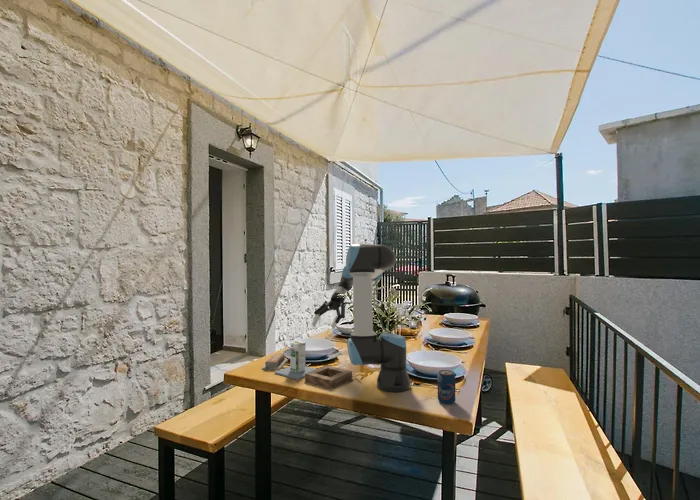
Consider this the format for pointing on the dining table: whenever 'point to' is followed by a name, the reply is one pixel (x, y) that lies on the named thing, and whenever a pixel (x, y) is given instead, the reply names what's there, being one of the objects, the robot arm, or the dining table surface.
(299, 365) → the syrup box
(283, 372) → the slate pad
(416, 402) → the dining table surface
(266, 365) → the packaged product
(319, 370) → the walnut holder
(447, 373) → the soda can
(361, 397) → the dining table surface
